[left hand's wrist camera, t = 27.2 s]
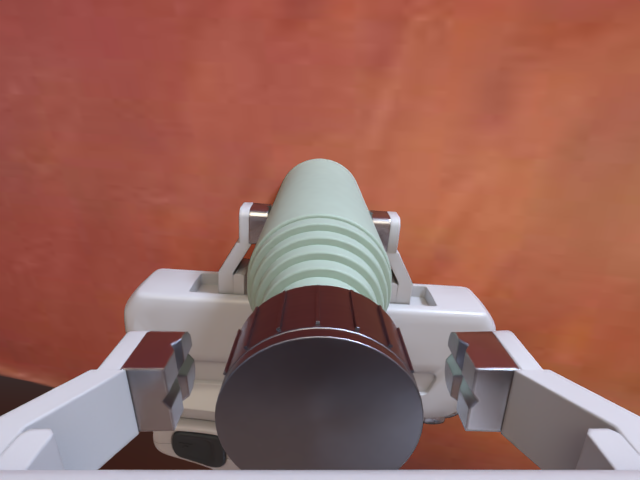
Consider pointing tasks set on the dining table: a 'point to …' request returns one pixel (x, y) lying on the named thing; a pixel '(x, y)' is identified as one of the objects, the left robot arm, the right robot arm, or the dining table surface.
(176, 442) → the right robot arm
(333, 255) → the bottle
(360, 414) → the cap
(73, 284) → the dining table surface
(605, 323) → the dining table surface
